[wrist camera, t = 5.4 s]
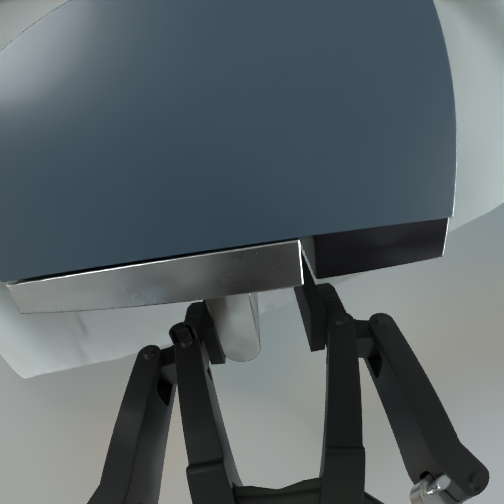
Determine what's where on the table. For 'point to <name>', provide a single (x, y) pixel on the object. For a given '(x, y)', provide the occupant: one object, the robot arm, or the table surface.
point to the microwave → (226, 133)
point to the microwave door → (177, 287)
